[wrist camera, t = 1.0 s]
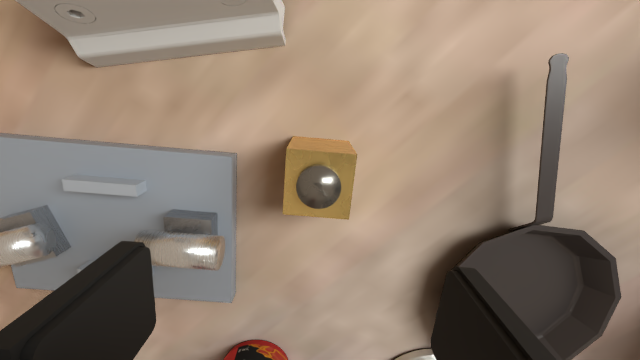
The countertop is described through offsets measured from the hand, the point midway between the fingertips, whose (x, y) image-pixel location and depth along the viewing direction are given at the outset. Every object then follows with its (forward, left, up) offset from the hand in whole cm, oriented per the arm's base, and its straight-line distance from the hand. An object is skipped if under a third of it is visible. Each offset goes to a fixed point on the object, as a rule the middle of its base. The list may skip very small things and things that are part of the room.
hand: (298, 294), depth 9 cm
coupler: (0, -1, -19) cm, 19 cm away
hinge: (+12, +12, -19) cm, 25 cm away
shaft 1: (-8, +24, -19) cm, 32 cm away
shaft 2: (-7, +10, -19) cm, 22 cm away
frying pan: (-5, -21, -19) cm, 29 cm away
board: (-7, +17, -19) cm, 26 cm away
